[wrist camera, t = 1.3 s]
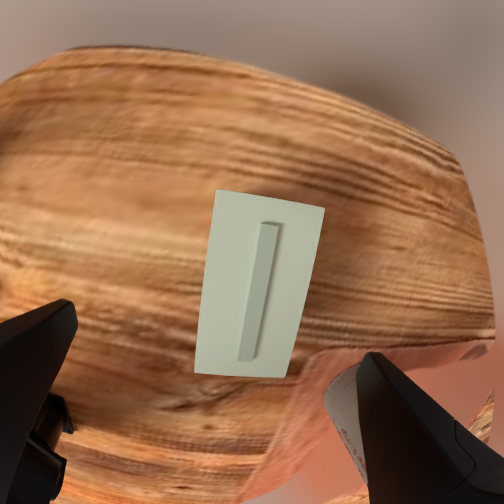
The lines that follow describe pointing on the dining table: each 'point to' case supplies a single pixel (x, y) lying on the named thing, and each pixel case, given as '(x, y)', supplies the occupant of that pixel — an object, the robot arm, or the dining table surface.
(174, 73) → the dining table surface
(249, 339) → the lid
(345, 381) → the thermos bottle
